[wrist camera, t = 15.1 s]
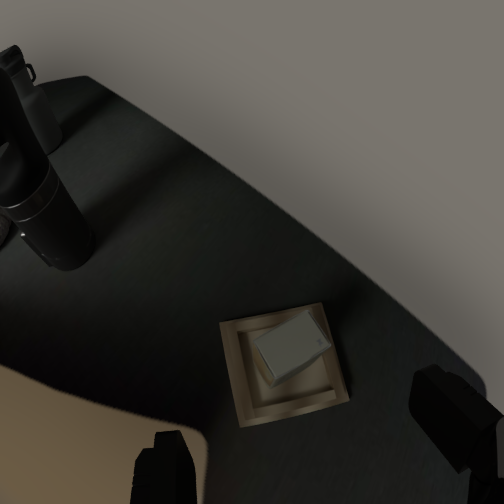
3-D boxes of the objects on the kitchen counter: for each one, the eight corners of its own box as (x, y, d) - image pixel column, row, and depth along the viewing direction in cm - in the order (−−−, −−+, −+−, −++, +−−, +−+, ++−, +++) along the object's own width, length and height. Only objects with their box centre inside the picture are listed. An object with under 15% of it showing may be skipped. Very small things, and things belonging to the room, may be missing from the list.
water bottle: (34, 139, 63) (-7, 53, 39) (66, 126, 65) (29, 34, 41) (27, 165, 59) (-23, 72, 34) (61, 151, 60) (16, 49, 36)
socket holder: (240, 427, 35) (239, 427, 33) (219, 324, 42) (218, 319, 40) (347, 401, 37) (353, 399, 34) (320, 304, 43) (323, 298, 41)
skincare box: (293, 338, 40) (310, 305, 29) (311, 366, 38) (335, 343, 28) (249, 362, 38) (250, 338, 28) (267, 391, 37) (275, 380, 26)
